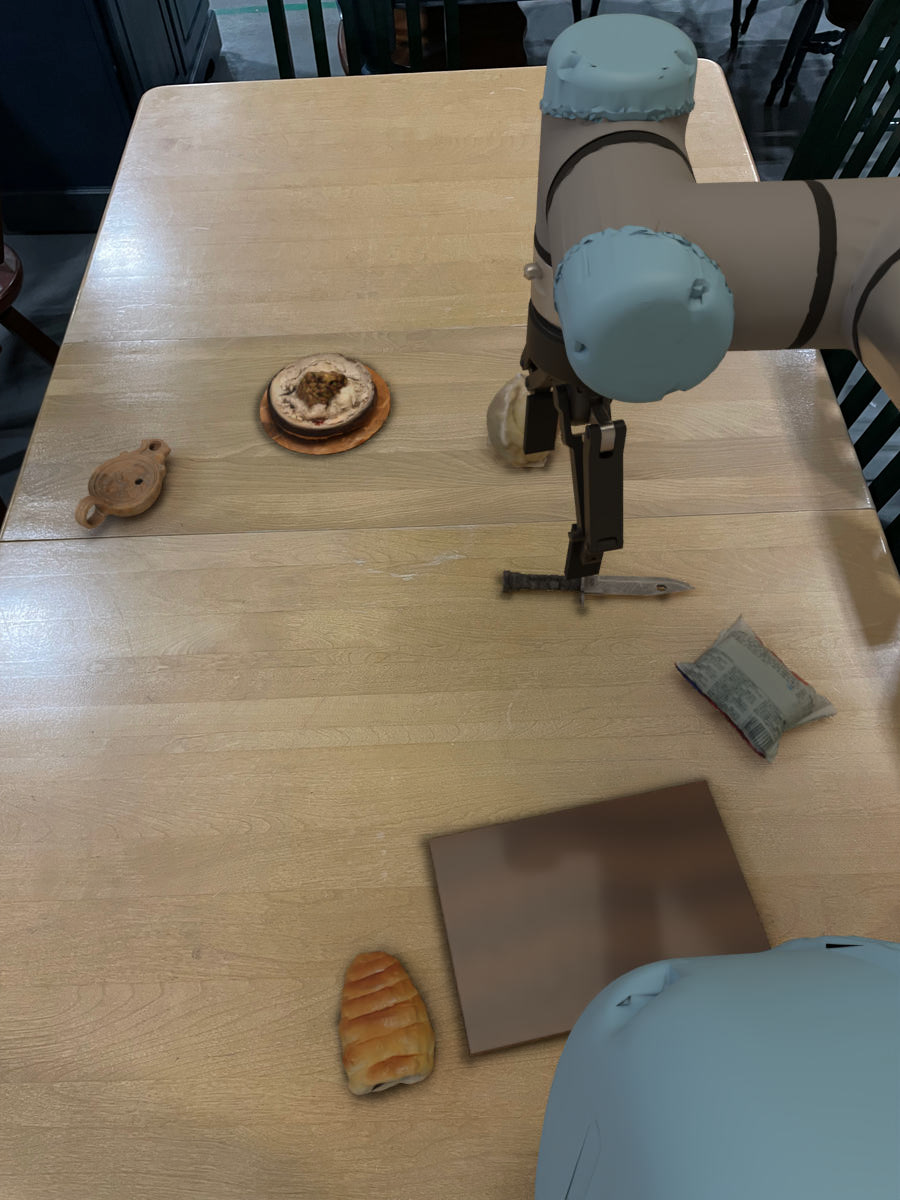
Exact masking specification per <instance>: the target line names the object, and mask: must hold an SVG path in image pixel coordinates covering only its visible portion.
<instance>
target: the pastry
mask: <svg viewBox="0 0 900 1200" xmlns="http://www.w3.org/2000/svg"><path fill="white" fill-rule="evenodd" d="M344 974H345V976H344V982H343V983H344V985H343V987H342V990H341V997H340V1021H339V1025H338V1028H337V1034H338V1038H339V1040H340V1042H341V1047H342V1053H343V1054H342V1056H341V1057H342V1065H343V1068H344V1070H345V1072H346V1076H347V1081H348V1082H347V1088H348V1090H349V1091H350V1092H351V1093H352V1094H354V1095H356V1096H362V1095H367V1094H369V1093H376V1092H377V1093H379V1092H381V1091H385V1090H386V1089H388V1088H392V1087H394V1086H396V1085H398V1084H400V1083H402V1084H405V1085H406V1084H407V1085H412V1084H415V1083H418V1082H422V1081H424V1080H425V1079H426V1078H428V1076H429V1075H430V1074H431V1072H432V1071H433V1068H434V1066H435V1065H434V1064H435V1060H434V1059H435V1057H434V1055H435V1054H434V1053H435V1044H436V1036H435V1032H434V1029H433V1027H432V1025H431V1021H430V1018H429V1016H428V1011H427V1007H426V1004H425V1002H424V1000H423V999H422V997H421V995H420V993H419V991H418V990H417V988H416V987H415V986H414V983H413V981H412V979H410V976H409V975H408V973H407V971H406V970H405V969H404V967H403V965H402V963H401V961H400V960H399V959H398V958H396V957H395V956H393V955H391V954H389V953H386V952H385V951H381V950H378V951H377V950H376V951H370V952H361V953H359V954H357V955H355V957H354V958H353V960H352V961H351V963H350V964H349V966H348V967H347V969H346V971H345V973H344Z"/></svg>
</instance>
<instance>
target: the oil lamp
mask: <svg viewBox="0 0 900 1200" xmlns="http://www.w3.org/2000/svg"><path fill="white" fill-rule="evenodd" d="M171 452H172V448H171V447H170V446H169V445H168V444H167V443H166V442H165V440H163V439H161V438H147V439H141V445H140V447H139V448H137V449H135V450H131V451H127V450H123V451H121V452H120V453H119V455H117V456H115V457H112V458H110V459H108V460H106V461H104V462H102V463H101V464H100V465H98V466H97V467H96V468H95V469H94V470H93V472H92V473H91V474H90V477H89V479H88V480H87V492H88V494H89V495H86V496H85V497H83V498H81V499H80V500H79V502H78V503H77V505H76V507H75V511H74V520H75V521H76V523H77V524H78V525H80V527H83V528H85V529H87V530H92V529H96V528H97V527H99V526H100V525H101V524H102V523H103V522H104V521H105V520H106V518H107V516H110V515H111V516H114V517H123V518H124V517H133V516H136V515H139V514H142V513H144V512H145V511H147V510H148V509H150V507H152V506H153V504H154V503H155V502H156V500H157V499H158V497H159V496H160V494H161V490H162V486H163V480H164V479H165V476H166V473H167V468H166V466H165V464H166V460H167V458H168V456H169V455H170V453H171ZM93 506H94V509H93V513H92V514H91V515H90V516H89V517H88V513H89V511H90V509H91V508H92V507H93Z"/></svg>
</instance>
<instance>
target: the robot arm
mask: <svg viewBox="0 0 900 1200" xmlns="http://www.w3.org/2000/svg"><path fill="white" fill-rule="evenodd" d="M698 64H699V59H698V52H697V49H696V46H695V44H694V43H693V41H692V40H691V39H690V37H689V36H688V35H687V33H685V32H684V31H683V30H682V29H681V28H679V27H678V26H675V25H674V24H673V23H670V22H668V21H666V20H663V19H661V18H657V17H654V16H650V15H644V14H638V13H604V14H600V15H599V14H598V15H595V16H591V17H587V18H584V19H581V20H579V21H577V22H575V23H573V24H571V25H570V26H568V27H566V28H565V29H563V31H562V32H561V33H559V35H558V36H556V38H555V39H554V41H553V42H552V45H551V47H550V49H549V50H548V54H547V59H546V68H545V76H544V86H543V91H542V92H543V93H542V98H541V99H540V100H539V105H538V106H539V111H540V112H541V116H540V118H541V119H540V137H539V152H538V153H539V154H538V170H537V189H536V191H537V192H536V209H535V210H536V211H535V223H534V231H533V245H532V246H533V247H532V249H533V253H532V254H533V255H532V262H529V263H526V264H525V265H524V266H523V278H524V279H526V280H527V281H530V298H529V301H528V306H527V307H528V308H527V310H528V311H527V321H526V337H525V344H524V347H523V349H522V353H521V354H520V360H519V366H520V367H521V370H522V371H528V375H527V377H526V378H525V387H526V388H527V391H528V392H529V391H530V395H527V400H526V413H525V426H524V440H523V451H524V454H525V455H528V454H533V453H539V452H545V451H551V450H552V451H555V450H556V449H555V448H556V441H557V440H556V433H557V424H558V416H559V422H560V440H561V443H562V445H564V446H565V447H567V448H568V451H569V460H570V471H571V479H572V489H573V490H572V491H573V500H574V509H575V519H576V522H575V523H571V528H570V531H567V536H568V545H567V552H566V557H565V563H564V569H563V570H564V571H563V575H565V578H566V580H571V579H576V578H582V577H587V576H592V575H600V571H601V567H602V562H603V558H604V555H605V553H606V552H613V551H618V550H622V549H624V543H625V540H624V453H625V445H626V441H627V440H626V438H627V431H628V427H627V424H626V421H625V420H624V419H622V418H620V419H615V420H613V419H612V408H611V406H612V405H611V404H612V403H613V401H618V402H621V403H627V404H646V403H648V404H649V403H655V402H661V401H663V399H664V397H666V396H667V395H670V394H672V393H676V392H678V391H681V392H685V393H686V392H687V391H690V390H692V389H693V388H695V387H697V386H698V385H700V384H701V383H702V382H704V381H705V380H706V379H707V378H708V377H710V376H711V374H712V373H714V372H715V371H716V370H717V369H718V367H719V365H720V364H721V362H722V361H723V360H724V359H725V357H726V354H727V352H754V351H755V352H760V351H782V350H783V351H786V350H848V351H851V352H852V354H854V356H855V357H856V359H857V360H858V361H859V363H860V364H861V365H862V367H863V368H864V369H865V370H866V371H867V372H868V373H869V374H870V375H871V376H872V377H873V378H874V380H875V381H876V382H877V384H878V385H879V386H880V388H881V389H882V391H884V393H885V394H886V396H887V397H888V398H889V399H890V401H891V402H892V404H893V405H894V406H895V407H896V409H897V410H898V411H899V412H900V176H883V177H881V176H879V177H856V178H855V177H854V178H836V179H835V178H831V179H830V178H829V179H827V178H826V179H805V180H804V179H802V180H801V179H800V180H767V181H766V180H763V181H762V180H761V181H723V182H697V179H696V177H695V174H694V169H693V166H692V164H691V161H690V156H689V154H688V151H687V147H686V133H687V127H688V126H687V125H688V122H689V119H690V114H691V113H692V111H694V109H695V106H696V100H695V98H694V97H695V96H694V95H695V89H696V81H697V73H698ZM551 388H553V391H551ZM580 426H585V427H584V432H583V431H582V432H577V433H573V429H572V427H580ZM552 451H551V452H552ZM549 1088H550V1089H549V1092H548V1096H547V1101H546V1107H545V1112H544V1117H543V1123H542V1128H541V1134H540V1140H539V1145H538V1147H539V1148H538V1154H537V1163H536V1172H535V1179H534V1200H900V942H896V941H890V940H883V939H876V938H870V937H865V936H859V935H854V934H853V935H825V934H824V935H819V936H814V937H808V936H803V937H798V938H792V939H791V938H790V939H789V940H787V941H784V942H782V943H781V944H780V943H779V944H778V945H776V946H774V947H771V949H769V950H767V951H763V952H758V953H748V954H732V955H717V956H702V957H686V958H674V959H667V960H661V961H657V962H653V963H650V964H646V965H644V966H641V967H638V968H636V969H634V970H632V971H630V972H628V973H626V974H624V975H622V976H620V977H619V978H617V979H616V980H614V981H613V982H611V983H610V984H609V985H608V986H606V987H605V988H604V989H603V990H602V991H601V992H600V993H599V994H598V995H597V996H596V997H595V998H594V999H593V1000H592V1001H591V1002H590V1003H589V1004H588V1006H587V1007H586V1008H585V1010H584V1011H583V1013H582V1014H581V1016H580V1017H579V1019H578V1020H577V1022H576V1023H575V1025H574V1027H573V1029H572V1030H571V1032H570V1033H568V1037H567V1039H566V1040H565V1043H564V1046H563V1049H562V1051H561V1053H560V1056H559V1058H558V1061H557V1064H556V1068H555V1071H554V1075H553V1078H552V1082H551V1085H550V1087H549Z"/></svg>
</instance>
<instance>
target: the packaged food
mask: <svg viewBox="0 0 900 1200" xmlns="http://www.w3.org/2000/svg"><path fill="white" fill-rule="evenodd" d="M674 666H675V669H676V670H677V671H678V672H679V674H680V675H681V676H682V678H683V679H684V680H685V681H686V682H687V683H689V685H690V686H691V687H692V688H693V689H694V690H695V691H696V692H697V693H698V694H699V695H700V696H702V698H704V699H705V700H706V701H707V702H708V703H709V704H710V705H711V706H712V707H713V708H714V709H715V710H717V711H718V712H720V714H721V716H722V717H723V719H724V720H725V721H726V722H727V723H728V724H729V725H730V726H731V727H732V728H733V729H734V730H735V732H736V733H737V734H738V735H739V736H740V738H741V739H742V740H743V741H744V742H745V743H746V744H747V745H748V746H749V748H750V749H751V750H752V751H753V752H754V753H755V754H756V755H757V756H758V757H760V758H761V759H763V760H764V761H766V762H768V763H769V764H771V765H773V763H774V761H775V760H776V757H777V756H778V751H779V750H778V749H779V747H780V741H781V740H782V736H783V733H786V732H788V731H790V730H792V729H795V728H798V727H801V726H805V725H808V724H811V723H813V722H816V721H819V720H821V719H824V718H826V719H829V718H830V717H833V718H834V717H836V716H837V715H838V710H837V708H836V707H835V705H834V704H833V703H832V701H831V700H830V699H828V697H827V696H825V695H822V694H819V693H817V690H816V689H815V688H814V686H813V685H811V684H810V683H809V682H807V681H805V679H803V678H802V677H801V676H800V675H799V674H797V673H796V672H794V671H793V670H790V669H789V668H787V666H786V664H785V663H784V662H783V660H782V659H781V658H780V657H779V656H778V655H777V654H776V653H775V651H774V650H772V649H769V648H768V647H767V646H765V645H764V642H763V640H762V639H761V638H760V637H759V636H758V635H757V633H756V632H755V631H754V630H753V629H752V627H751V626H750V625H749V624H748V623H747V622H746V621H745V619H744V618H743V613H740V614H739V616H738V617H737V619H736V620H735V621H734V622H732V624H731V626H730V627H729V628H728V629H727V628H723V629H722V630H720V632H719V634H718V636H717V638H716V640H715V641H714V642H713V643H712V645H711V646H710V647H709V648H707V650H706V651H704V652H703V653H702V654H701V655H700V656H699V657H698V658H696V660H695V661H694V662H685V661H682V662H679V661H675V662H674Z"/></svg>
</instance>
